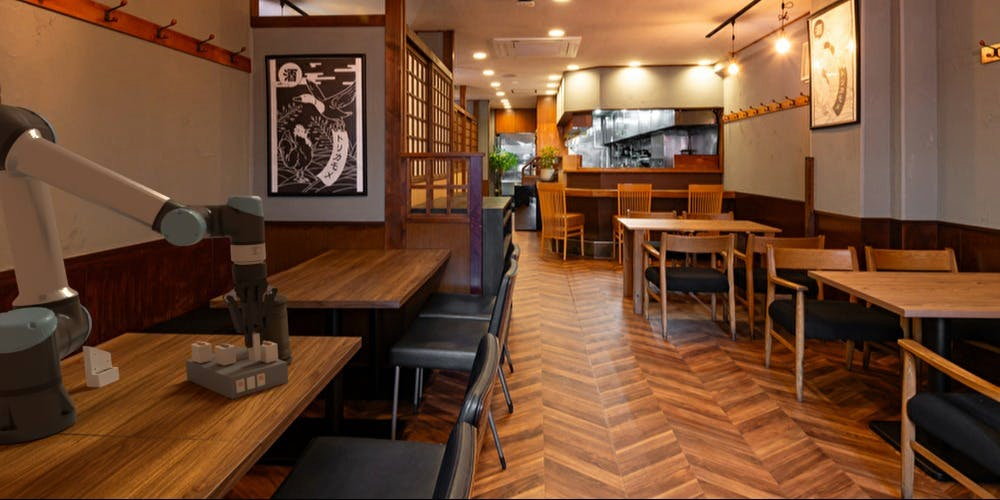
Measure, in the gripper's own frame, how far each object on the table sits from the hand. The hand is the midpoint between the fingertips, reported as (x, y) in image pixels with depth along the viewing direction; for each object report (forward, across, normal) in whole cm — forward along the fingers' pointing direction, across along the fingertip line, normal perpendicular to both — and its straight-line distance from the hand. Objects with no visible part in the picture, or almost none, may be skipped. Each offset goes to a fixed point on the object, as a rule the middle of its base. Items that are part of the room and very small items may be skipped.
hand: (255, 359), depth 144 cm
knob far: (+1, -6, +13) cm, 14 cm away
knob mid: (+1, -4, +6) cm, 8 cm away
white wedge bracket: (+7, -22, +32) cm, 39 cm away
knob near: (+1, +3, 0) cm, 3 cm away
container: (+6, +12, +11) cm, 17 cm away
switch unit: (+6, -1, +6) cm, 9 cm away
